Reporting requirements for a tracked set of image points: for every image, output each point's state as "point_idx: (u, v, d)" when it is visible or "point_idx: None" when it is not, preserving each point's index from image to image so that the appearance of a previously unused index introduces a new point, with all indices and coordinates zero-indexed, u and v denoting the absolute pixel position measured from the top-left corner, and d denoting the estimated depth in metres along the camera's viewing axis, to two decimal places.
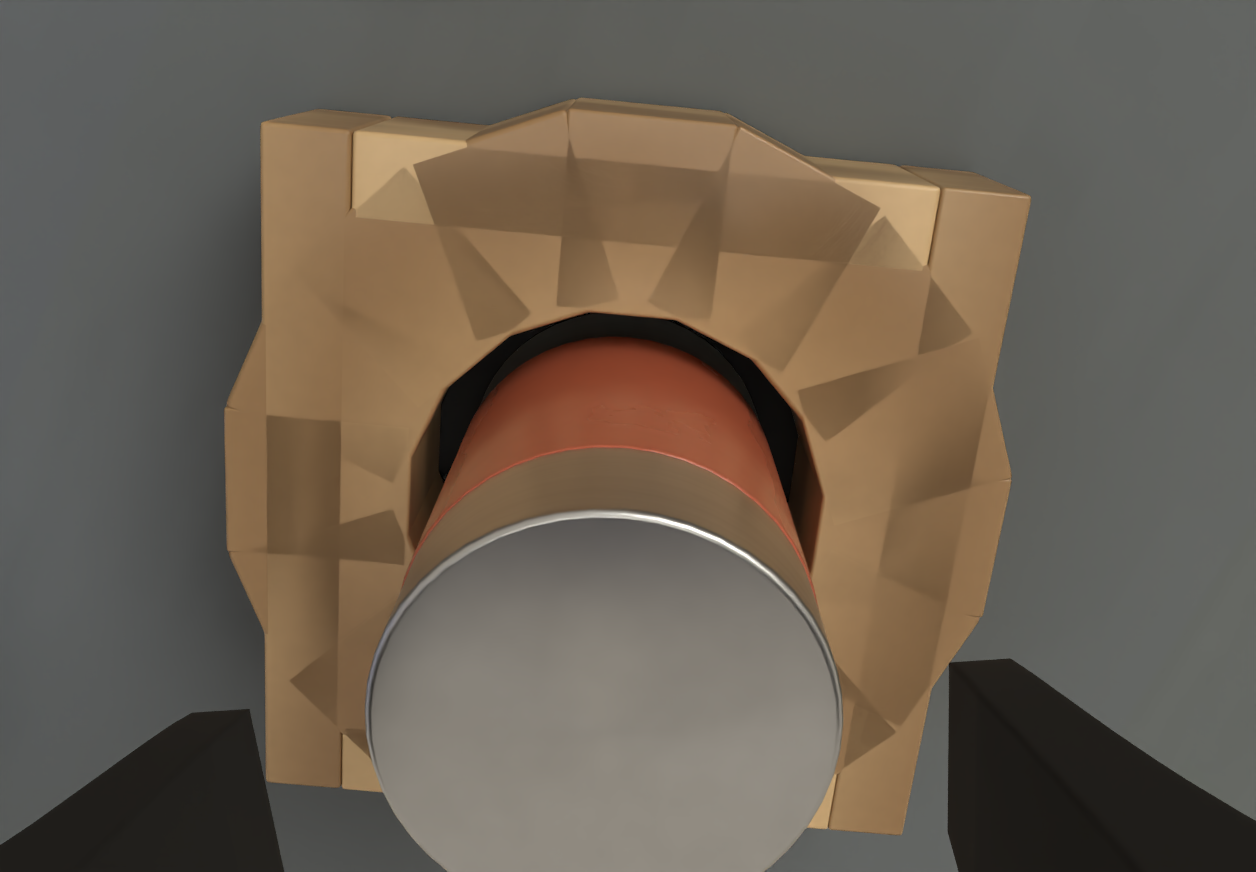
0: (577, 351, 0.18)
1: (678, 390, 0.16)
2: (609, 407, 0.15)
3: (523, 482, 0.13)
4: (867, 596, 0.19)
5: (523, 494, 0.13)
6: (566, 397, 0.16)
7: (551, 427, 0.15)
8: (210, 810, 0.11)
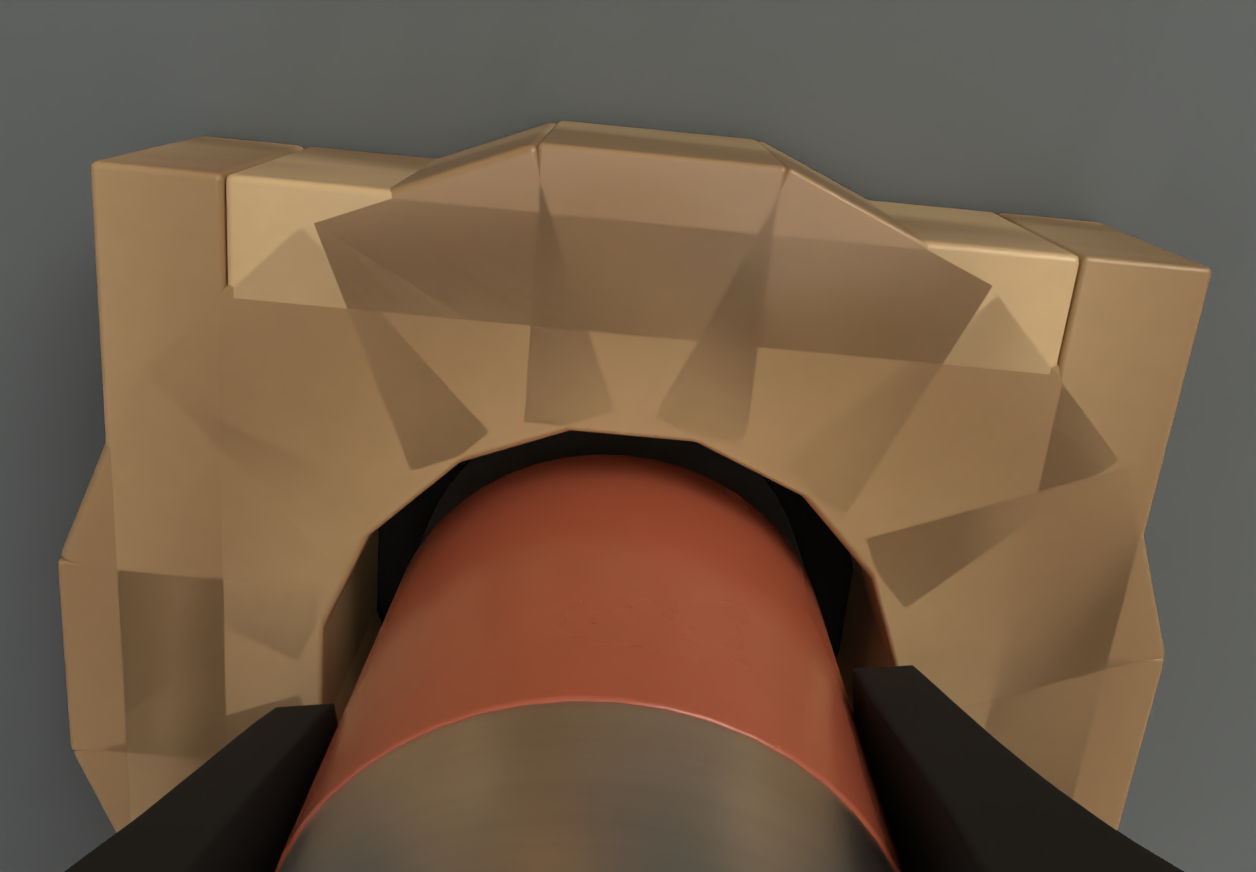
0: (551, 481, 0.13)
1: (695, 557, 0.11)
2: (593, 606, 0.10)
3: (444, 780, 0.08)
4: None
5: (441, 815, 0.07)
6: (529, 577, 0.10)
7: (502, 645, 0.09)
8: (303, 804, 0.11)
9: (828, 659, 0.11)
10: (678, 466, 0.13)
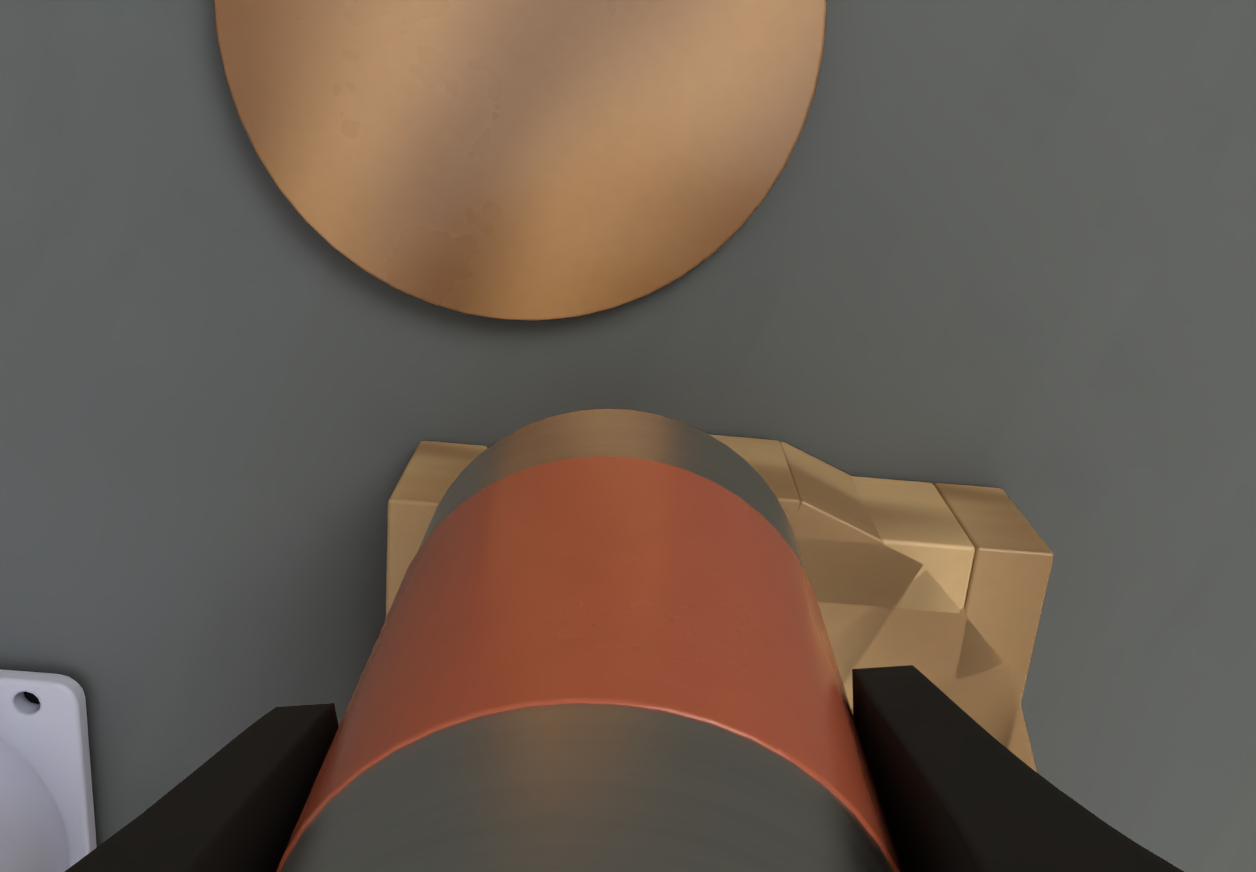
0: (552, 482, 0.13)
1: (696, 558, 0.11)
2: (593, 608, 0.10)
3: (445, 781, 0.08)
4: None
5: (441, 819, 0.07)
6: (530, 579, 0.10)
7: (503, 647, 0.09)
8: (303, 804, 0.11)
9: (828, 660, 0.11)
10: (678, 467, 0.13)
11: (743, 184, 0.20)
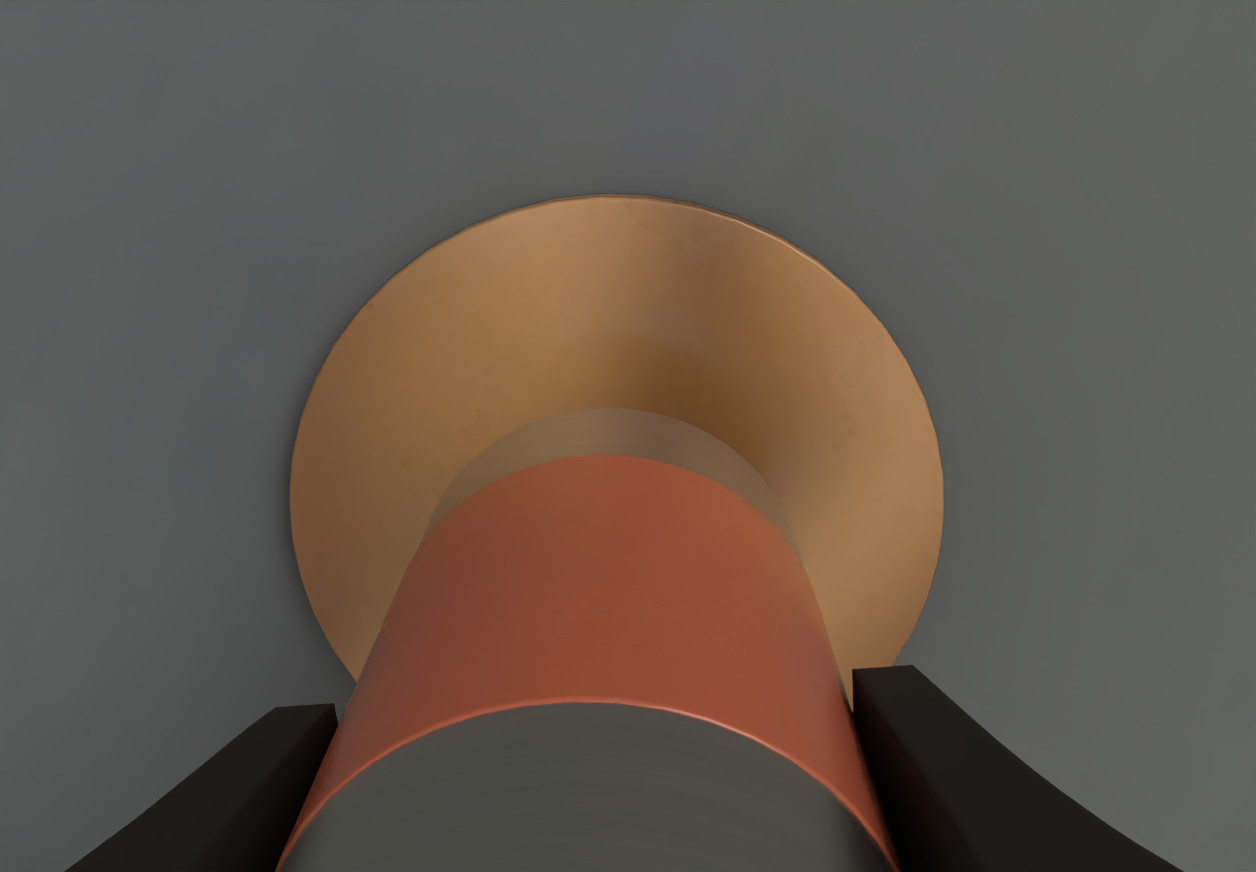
0: (551, 481, 0.13)
1: (696, 557, 0.11)
2: (592, 606, 0.10)
3: (444, 780, 0.08)
4: None
5: (441, 816, 0.07)
6: (530, 578, 0.10)
7: (502, 646, 0.09)
8: (303, 804, 0.11)
9: (828, 659, 0.11)
10: (678, 466, 0.13)
11: (848, 680, 0.19)
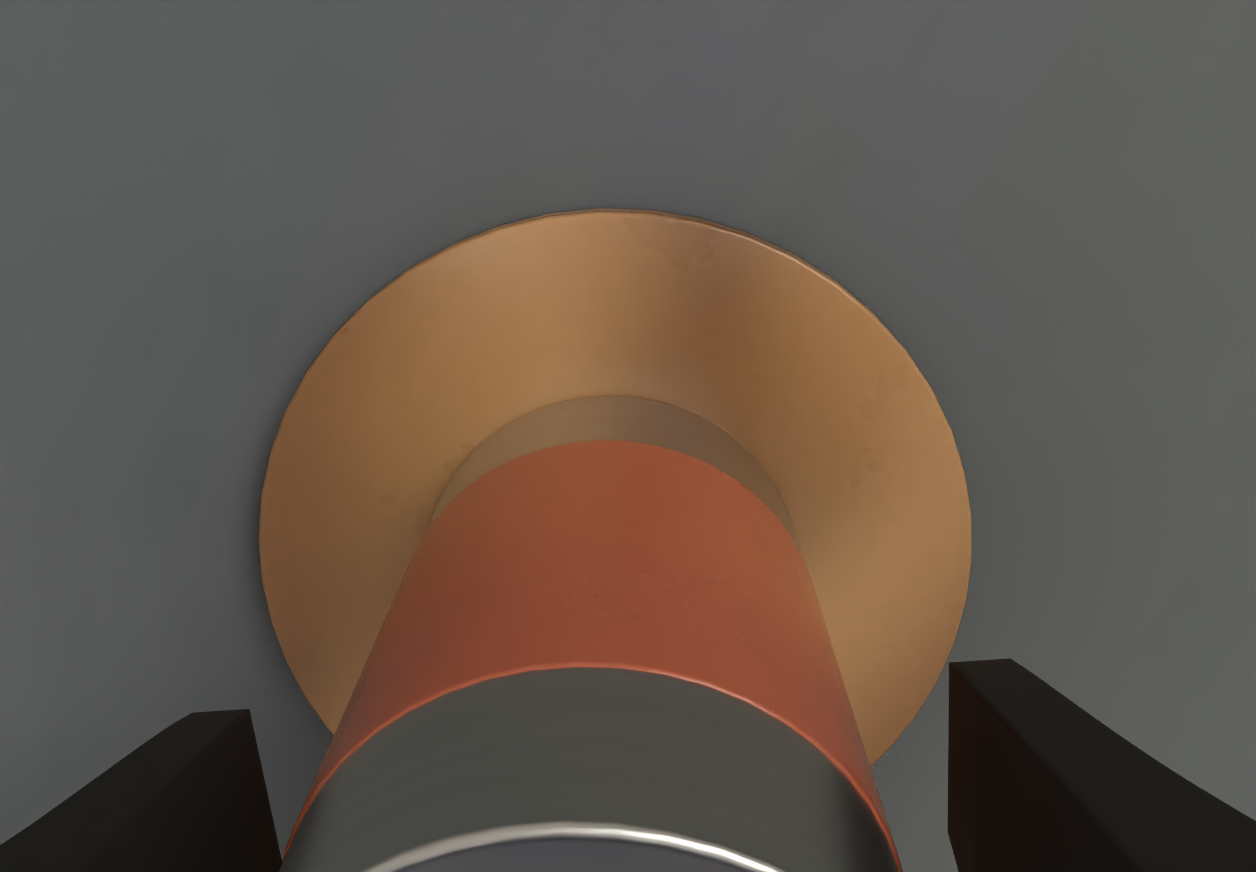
0: (555, 465, 0.13)
1: (694, 536, 0.12)
2: (595, 580, 0.10)
3: (455, 737, 0.08)
4: None
5: (454, 771, 0.08)
6: (534, 554, 0.11)
7: (509, 616, 0.10)
8: (210, 810, 0.11)
9: (821, 634, 0.12)
10: (677, 451, 0.14)
11: (866, 734, 0.17)
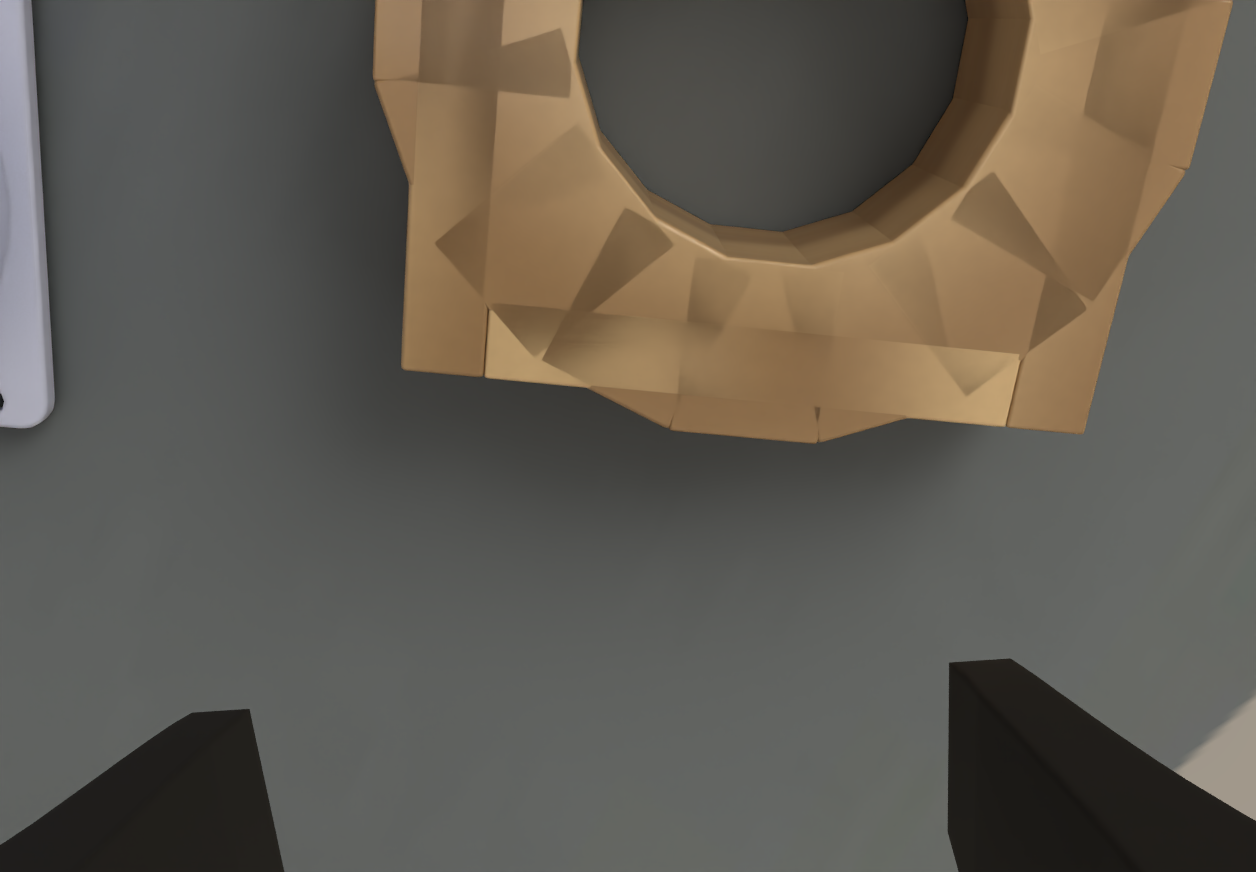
0: None
1: None
2: None
3: None
4: (1069, 142, 0.17)
5: None
6: None
7: None
8: (210, 810, 0.11)
9: None
10: None
11: None
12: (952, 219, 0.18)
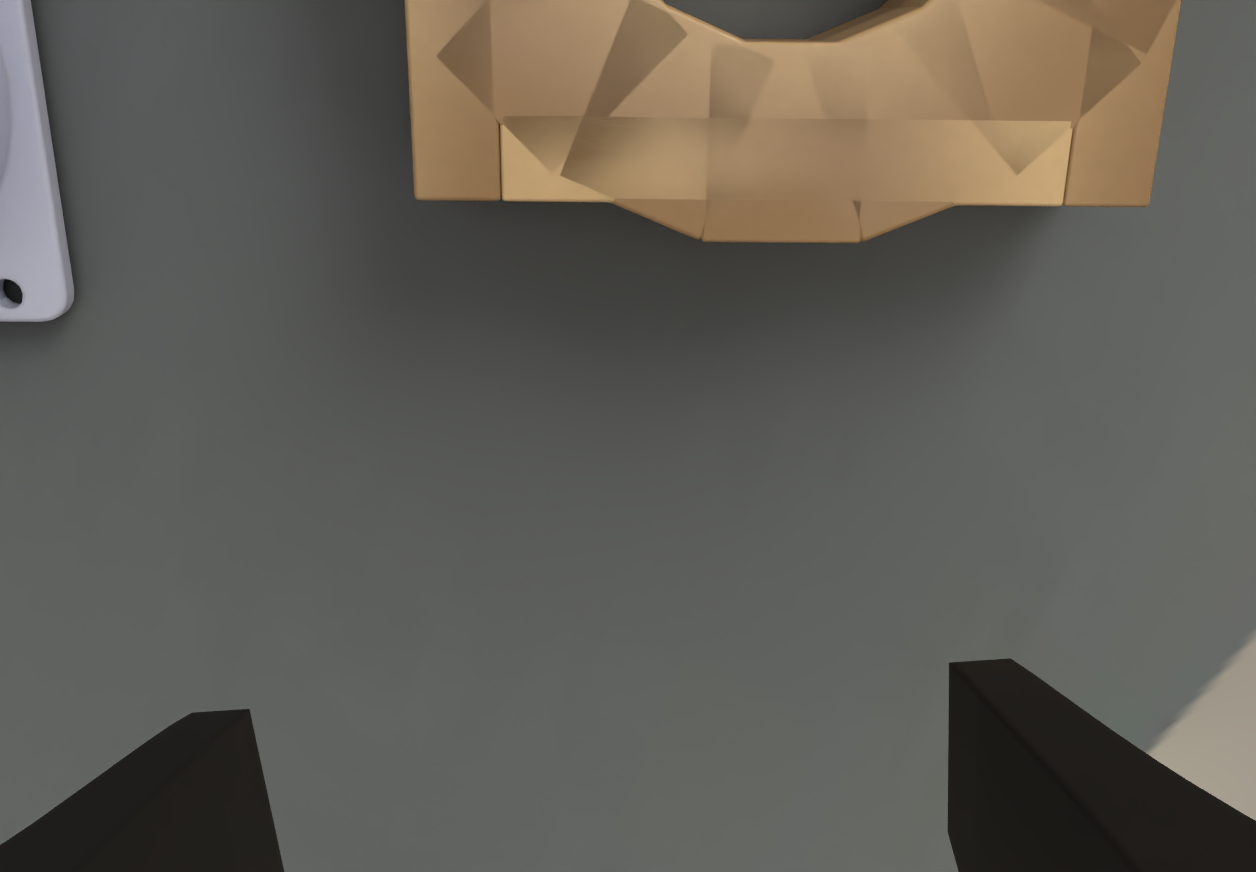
0: None
1: None
2: None
3: None
4: None
5: None
6: None
7: None
8: (210, 810, 0.11)
9: None
10: None
11: None
12: None
